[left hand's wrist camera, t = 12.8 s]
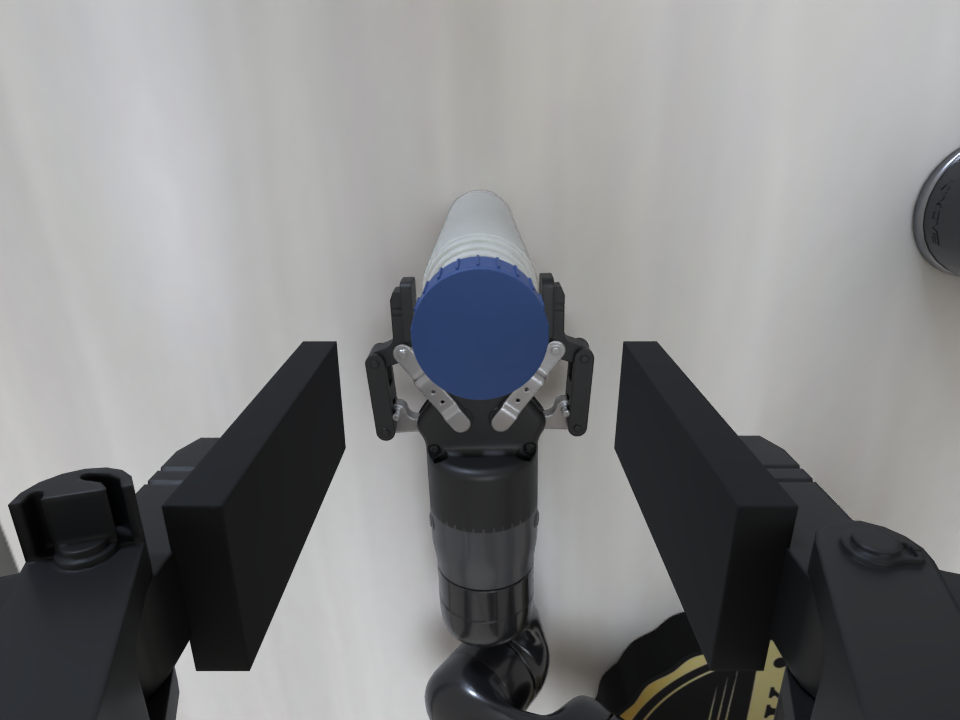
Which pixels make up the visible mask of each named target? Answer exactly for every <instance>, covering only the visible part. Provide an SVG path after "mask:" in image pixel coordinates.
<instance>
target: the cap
mask: <svg viewBox="0 0 960 720" xmlns="http://www.w3.org/2000/svg"><path fill="white" fill-rule="evenodd" d="M544 308H545V305H544V302H543V300H542V297H541V295H540V294H538V292H537V290H536V288H535V287H534V285H533V282H532V279H531V278H530V277H529V278H528V277H527V276H526V275H525V274H524V273H523V272H522V271H520V270H519V269H518V268H517V266H516V265H514V266H513V265H512V264H510V263H508V262H505V261H503V260H500V259H499V257H496V258H492V257H486V256H479V255H477V256H475V257H467V258H463V259H460V258H458V259H457V261H454V262H452V263H450V264H448V265H447V266H445V267H444V268H442V267H441V268H440V269H439V271H438V272H437V273H436V274H435V275H434V276H433V277H432V278H431V280H430V281H427V282H426V284H425V287H424V290H423V292H422V295H421V297H420V298H419V297H418V300H417V302H416V305H415V308H414V310H413V311H414V312H415V313H414V317H413V320H412V326H411V328H410V331H411V342H412V348H413V351H414V355H415V357H416V360H417V362H418V364H419V366H420V367H421V369H422V371H423V372H424V373H425V374H426V376H427V377H428V378H429V379H430V380H431V381H432V382H433V383H434V384H436V385H437V386H438V387H440V388H441V389H443V390H445V391H446V392H448V393H451V394H453V395H455V396H458V397H462V398H466V399H473V400H486V399H494V398H498V397H502V396H504V395H507V394H509V393H511V392H514V391H516V390H517V389H519V388H520V387H522V386H523V385H524V384H525V383H527V382H528V381H529V380H530V379H531V378H532V377H533V376H534V374H535V373H536V372H537V370H538V369H539V367H540V366H541V364H542V362H543V360H544V357H545V355H546V352H547V347H548V342H549V327H550V326H549V322H548V319H547V317H546V314H545V311H544Z"/></svg>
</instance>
